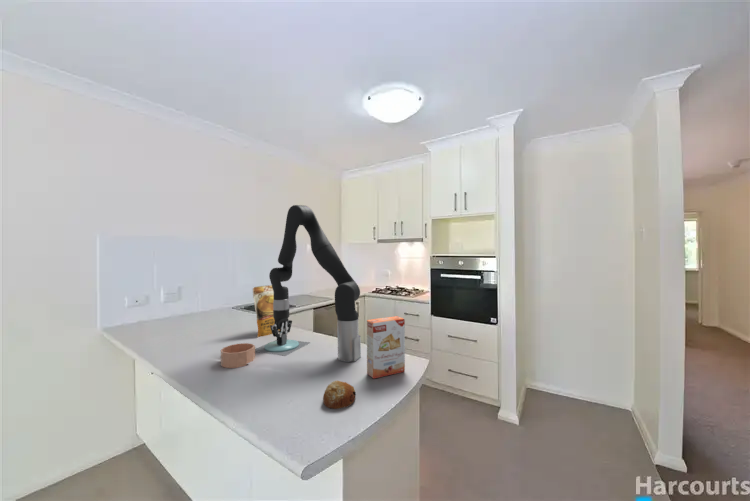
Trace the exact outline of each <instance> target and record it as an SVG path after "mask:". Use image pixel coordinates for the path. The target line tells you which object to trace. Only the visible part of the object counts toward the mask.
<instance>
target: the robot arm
mask: <svg viewBox="0 0 750 501" xmlns="http://www.w3.org/2000/svg"><path fill="white" fill-rule="evenodd" d="M285 219H286V221H285V226H284V234H283V239H282V245H281V247H280V248H281V249H280V251H279V254H278V257H277V262H278V264H280V265H282V267H281V266H280V267H273V268H271V270H270V272H269V281H270V285H272V288H273V292H274V301H273V318H274V319H275V323H274V325H273V326H270V328H271V331H272V334H271V335H272V337H274V338H276V340H277V344H278V345H281V344H282V337H281V336H282V333H284V334H286V342H287V340H288V338H287V337H288V336H287V335H288V334H289V333H290V332H291V328H292V324H293V320H291V319H289V317H290V300H289V288H288V287H287V286H285V285H284V286H283V285H282V283H284V282H287V281H290V279H292V276H293V262H294V259H295V256H296V254H297V247H298V246H297V239H296V236H297V231H298V229H299V227H300V226H303V228H304V229H305V230H306V232H307V233H308V236H309V238H310V248H311V249H310V250H311V253H312V254H313V256H314V258H315V260H316V261H317V263H318V265H319V266H320V267H321V268H322V269H323V270H325V272H327V273H328V274H329V275H330V276H331V278H333V280H334V281H335V283H336V285H337V287H336V288H335V291H334V310H335V314H336V320H337V321H336V323H337V326H336V327H337V359H338V360H339V361H340V362H344V363H345V362H347V363H350V362H356V361H358V360H359V359H360V358H361V357H362V353H361V350H362V349H361V345H362V344H361V343H362V342H361V335H359V333H360V332H359V312H358V311H357V310H356V301H358V299H359V298H360V296H361V290H360V286H359V285H358V283H357V282H356V281H355V280H354V278H353V277H352V275H351V274H350V273H349V272H348V270H347V269H346V267H345V265H344V263H343V262H342V260H341V258H340V257H339V255H338V253H337V252H336V250H335V249H334V247H333V245H332V243H331V242H330V240H329V239H328V237H327V235H326V233H325V232H324V230H323V229H322V228H321V225H320V223H319V220H318V219H317V217H316V214H315V212H314V211H313V210H312V208H311V207H309V206H308V205H303V204H299V205H298V204H293V205H292V206H290V207H289V208H288V211H287V214H286V218H285Z"/></svg>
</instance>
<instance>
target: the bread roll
mask: <svg viewBox="0 0 750 501" xmlns="http://www.w3.org/2000/svg"><path fill="white" fill-rule="evenodd" d="M356 396H357V394H356V389H355V388H354V386H352V385H351V384H350V383H348V382H346V381H340V380H334V381H332V382H330V383H329V384H328V385H327V386H326V388H325V390H324V393H323V397H322V401H323V404H324V406H325V407H326V408H327V409H332V410H339V409H344V408H348V407H349V406H351V405H353V403H354V402H355V400H356Z"/></svg>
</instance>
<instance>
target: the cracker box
mask: <svg viewBox="0 0 750 501" xmlns="http://www.w3.org/2000/svg"><path fill="white" fill-rule="evenodd" d="M405 323H406V319H405V318H404V317H400V316H398V315H396V316H388V317H379V318H373V319H367V320H366V374H367V375H368V376H369V377H371V378H372V379H378V378H382V377H386V376H391V375H394V374H399V373H404V372H405V370H406V368H405V367H406V365H405V363H406V360H405V359H406V357H405V356H406V354H405V353H406V351H405V350H406V349H405V347H406V346H405V342H406V341H405V340H406V339H405V338H406V337H405V335H406V334H405V333H406V332H405V331H406V329H405V326H406V325H405Z"/></svg>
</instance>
